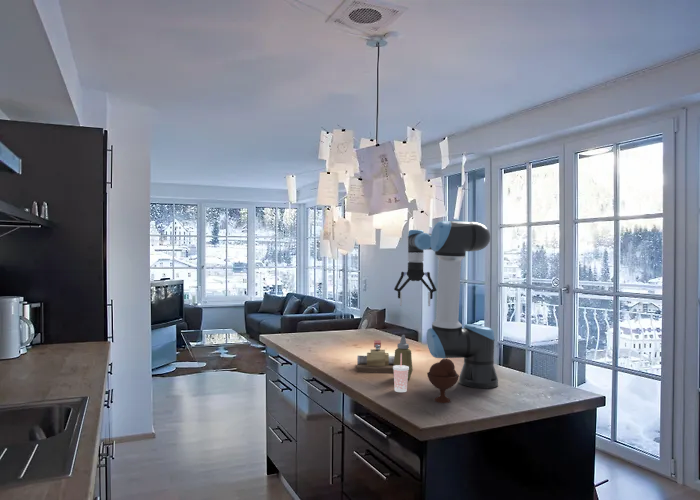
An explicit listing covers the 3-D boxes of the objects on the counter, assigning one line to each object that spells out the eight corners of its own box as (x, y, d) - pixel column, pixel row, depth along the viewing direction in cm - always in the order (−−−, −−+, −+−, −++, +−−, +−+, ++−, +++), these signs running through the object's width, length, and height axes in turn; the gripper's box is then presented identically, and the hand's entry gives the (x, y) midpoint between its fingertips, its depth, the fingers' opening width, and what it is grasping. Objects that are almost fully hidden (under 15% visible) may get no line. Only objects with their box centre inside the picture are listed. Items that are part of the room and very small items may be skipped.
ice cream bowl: (453, 396, 188) (454, 355, 188) (461, 405, 176) (462, 361, 176) (424, 396, 187) (425, 355, 187) (430, 405, 176) (431, 361, 176)
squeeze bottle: (396, 381, 207) (397, 337, 207) (390, 376, 215) (390, 333, 215) (415, 380, 209) (416, 336, 209) (408, 375, 217) (408, 333, 217)
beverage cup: (408, 393, 191) (408, 355, 191) (391, 392, 192) (392, 354, 192) (409, 388, 197) (409, 352, 197) (393, 387, 198) (393, 351, 198)
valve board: (398, 372, 222) (398, 354, 222) (357, 371, 223) (357, 353, 223) (396, 365, 236) (397, 348, 236) (357, 364, 237) (357, 347, 237)
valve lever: (381, 350, 228) (381, 345, 228) (374, 350, 228) (374, 345, 228) (380, 344, 242) (380, 340, 242) (374, 344, 243) (374, 339, 243)
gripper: (440, 262, 252) (440, 305, 252) (389, 261, 254) (389, 304, 254) (442, 262, 244) (441, 307, 244) (389, 261, 246) (389, 305, 246)
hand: (415, 305), depth 249 cm, fingers open, 13 cm apart
